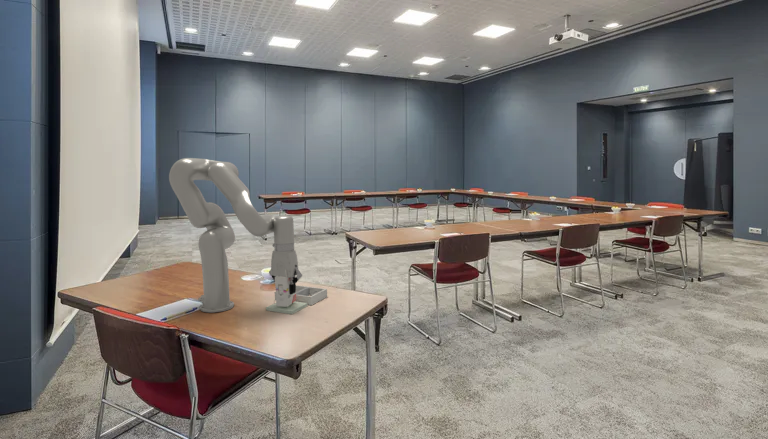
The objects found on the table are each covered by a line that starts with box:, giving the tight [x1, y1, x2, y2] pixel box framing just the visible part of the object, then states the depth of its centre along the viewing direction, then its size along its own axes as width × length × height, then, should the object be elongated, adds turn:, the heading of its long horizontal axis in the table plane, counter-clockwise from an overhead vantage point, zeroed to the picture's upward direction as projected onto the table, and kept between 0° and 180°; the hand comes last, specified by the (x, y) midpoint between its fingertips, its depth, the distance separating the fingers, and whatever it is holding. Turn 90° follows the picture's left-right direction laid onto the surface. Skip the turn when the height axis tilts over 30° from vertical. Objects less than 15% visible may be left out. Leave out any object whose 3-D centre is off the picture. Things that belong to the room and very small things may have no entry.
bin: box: [274, 284, 328, 306], centre depth 183 cm, size 18×13×4 cm
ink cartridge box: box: [274, 269, 296, 307], centre depth 169 cm, size 9×5×15 cm, turn 168°
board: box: [265, 301, 308, 315], centre depth 171 cm, size 12×10×1 cm
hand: (285, 292), depth 170 cm, fingers closed on ink cartridge box, 5 cm apart
